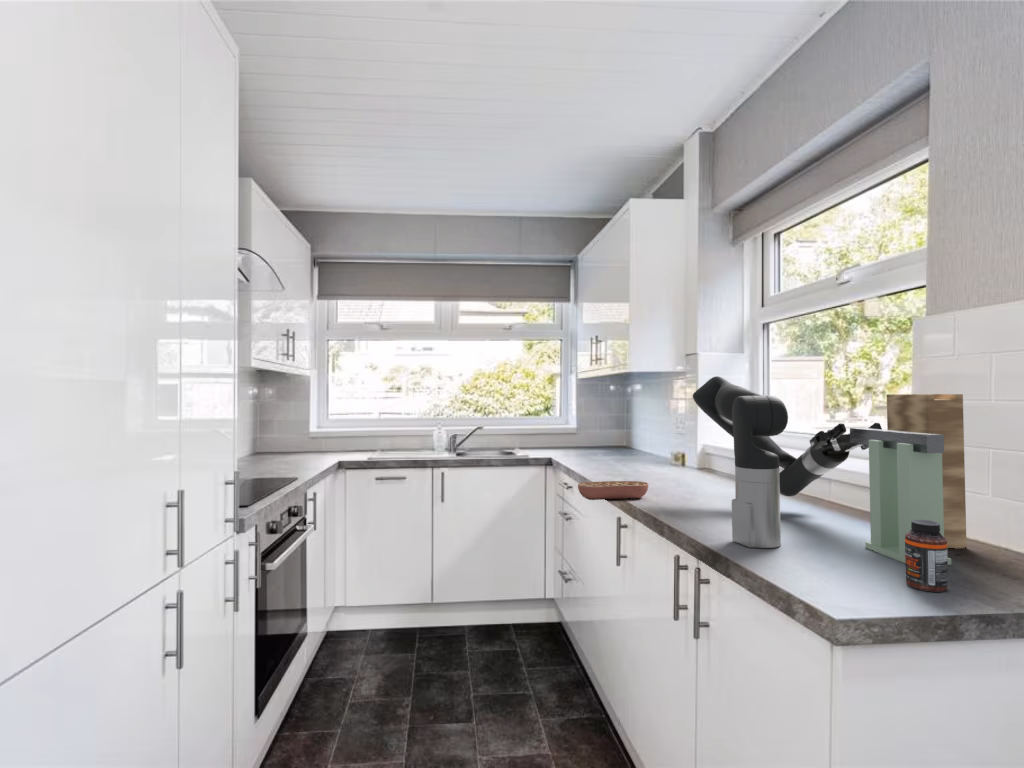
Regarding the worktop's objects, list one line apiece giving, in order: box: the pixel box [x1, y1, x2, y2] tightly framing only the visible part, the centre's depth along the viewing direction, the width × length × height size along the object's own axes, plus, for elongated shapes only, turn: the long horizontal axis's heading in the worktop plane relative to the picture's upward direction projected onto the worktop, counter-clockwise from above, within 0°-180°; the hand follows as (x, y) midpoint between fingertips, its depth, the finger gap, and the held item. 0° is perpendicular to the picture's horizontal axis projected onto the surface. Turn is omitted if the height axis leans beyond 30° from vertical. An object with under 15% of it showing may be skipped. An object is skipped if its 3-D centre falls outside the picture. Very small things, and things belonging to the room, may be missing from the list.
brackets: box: [864, 440, 952, 566], centre depth 115 cm, size 13×8×24 cm, turn 4°
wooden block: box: [886, 393, 968, 550], centre depth 126 cm, size 12×8×33 cm, turn 4°
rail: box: [849, 427, 944, 453], centre depth 118 cm, size 22×4×4 cm, turn 4°
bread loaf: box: [577, 480, 649, 501], centre depth 181 cm, size 23×10×5 cm, turn 95°
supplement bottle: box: [904, 520, 949, 593], centre depth 97 cm, size 6×6×11 cm
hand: (861, 426), depth 128 cm, fingers open, 8 cm apart
